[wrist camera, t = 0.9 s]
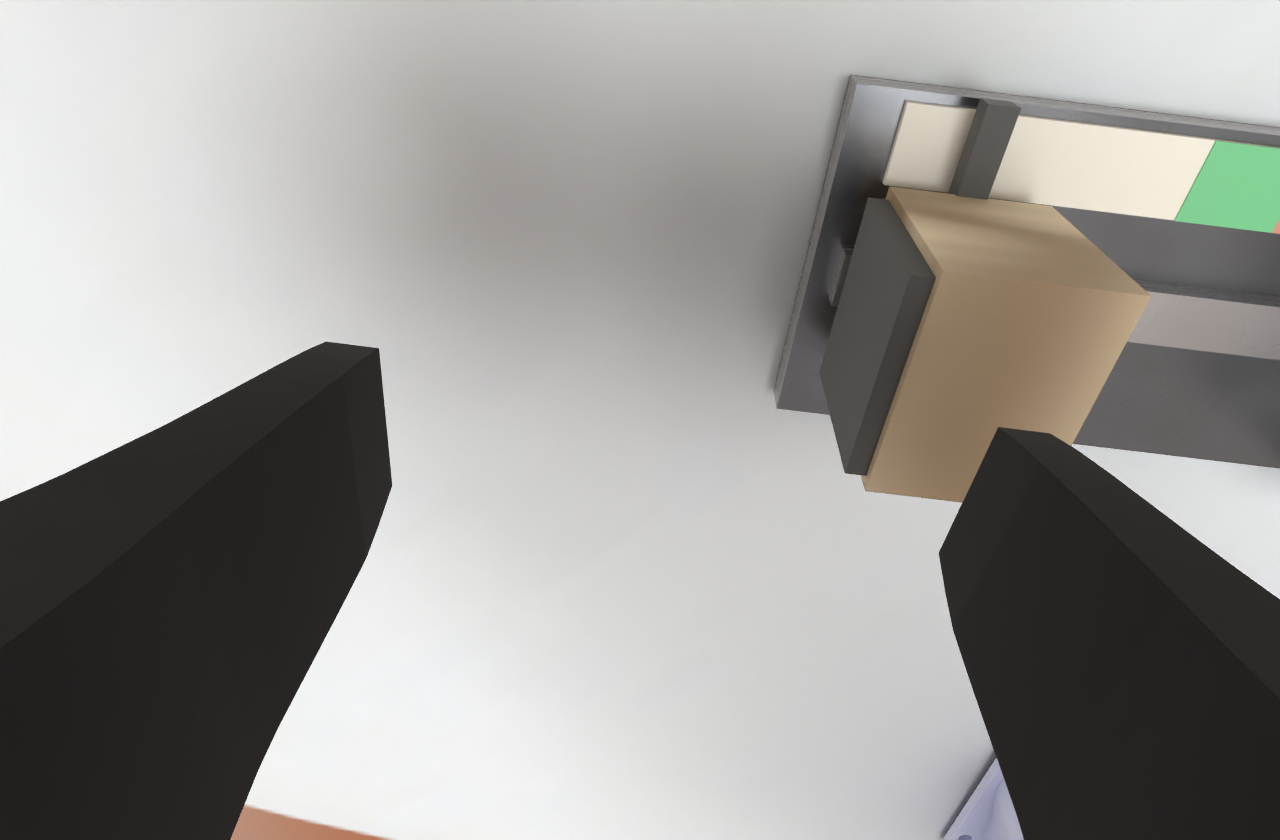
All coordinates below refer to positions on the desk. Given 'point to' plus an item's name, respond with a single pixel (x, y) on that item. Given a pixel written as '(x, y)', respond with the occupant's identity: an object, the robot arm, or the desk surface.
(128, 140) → the desk surface
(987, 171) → the gauge slider
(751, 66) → the desk surface
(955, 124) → the gauge bed
